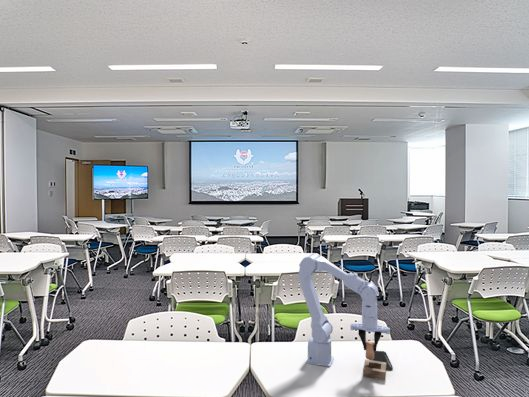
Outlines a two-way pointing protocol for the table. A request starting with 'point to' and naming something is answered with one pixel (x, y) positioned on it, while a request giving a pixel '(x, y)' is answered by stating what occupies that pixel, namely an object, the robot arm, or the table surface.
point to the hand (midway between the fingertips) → (370, 349)
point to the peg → (370, 350)
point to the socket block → (374, 369)
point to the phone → (383, 359)
